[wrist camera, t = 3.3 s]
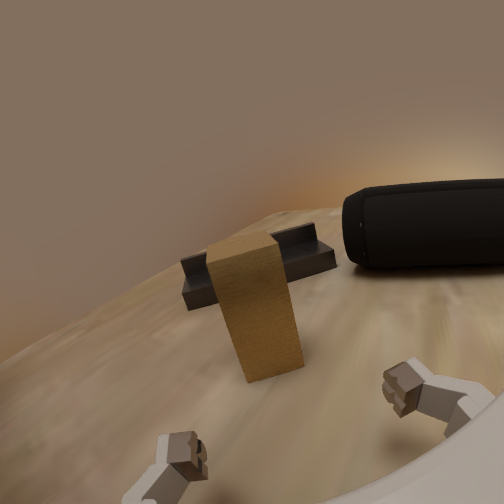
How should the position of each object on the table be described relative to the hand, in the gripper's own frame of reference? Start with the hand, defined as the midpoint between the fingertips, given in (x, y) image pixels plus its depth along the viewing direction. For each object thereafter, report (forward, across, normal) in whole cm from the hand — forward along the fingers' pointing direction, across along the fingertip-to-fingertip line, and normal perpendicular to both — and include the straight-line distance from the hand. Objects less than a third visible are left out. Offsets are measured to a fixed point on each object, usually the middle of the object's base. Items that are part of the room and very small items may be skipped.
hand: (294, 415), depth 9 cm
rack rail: (+28, -2, +6) cm, 29 cm away
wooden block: (+11, 0, +6) cm, 12 cm away
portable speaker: (+15, -24, +6) cm, 29 cm away
